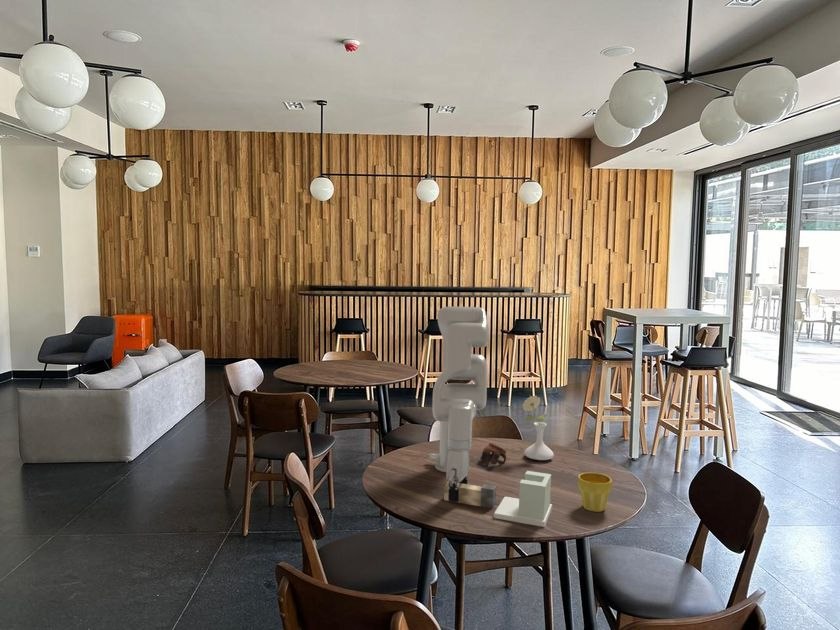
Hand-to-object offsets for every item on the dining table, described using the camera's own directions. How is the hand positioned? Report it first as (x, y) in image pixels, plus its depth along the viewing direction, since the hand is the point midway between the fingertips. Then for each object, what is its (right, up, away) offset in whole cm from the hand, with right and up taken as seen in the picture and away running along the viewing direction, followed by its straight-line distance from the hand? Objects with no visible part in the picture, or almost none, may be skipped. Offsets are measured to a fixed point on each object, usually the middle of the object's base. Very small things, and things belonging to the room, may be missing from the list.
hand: (457, 495), depth 192 cm
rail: (+4, -2, -1) cm, 4 cm away
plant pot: (+43, -3, -3) cm, 43 cm away
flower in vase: (+34, +1, +44) cm, 56 cm away
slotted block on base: (+20, -3, -9) cm, 21 cm away
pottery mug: (+16, +1, +37) cm, 40 cm away
